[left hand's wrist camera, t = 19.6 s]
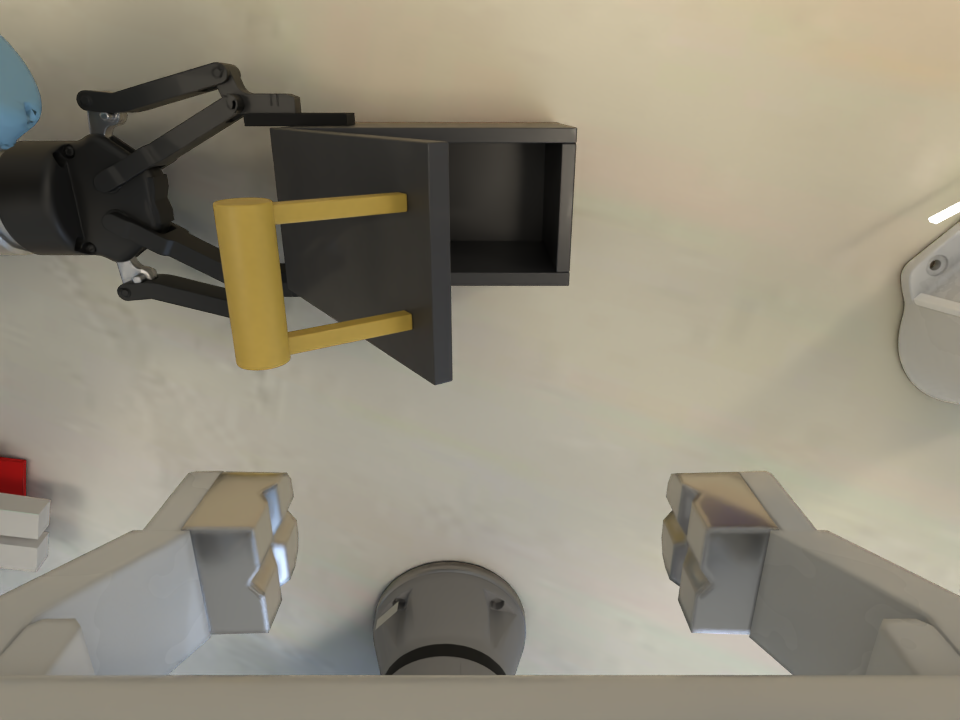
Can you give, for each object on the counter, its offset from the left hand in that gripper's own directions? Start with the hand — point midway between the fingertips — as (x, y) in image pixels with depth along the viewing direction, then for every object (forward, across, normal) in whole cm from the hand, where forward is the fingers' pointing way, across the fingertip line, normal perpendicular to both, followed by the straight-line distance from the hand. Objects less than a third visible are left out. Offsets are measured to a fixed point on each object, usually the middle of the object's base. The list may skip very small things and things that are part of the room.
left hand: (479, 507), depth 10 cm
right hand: (+36, -8, 0) cm, 37 cm away
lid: (+23, -6, 0) cm, 24 cm away
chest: (+42, -3, 0) cm, 43 cm away
